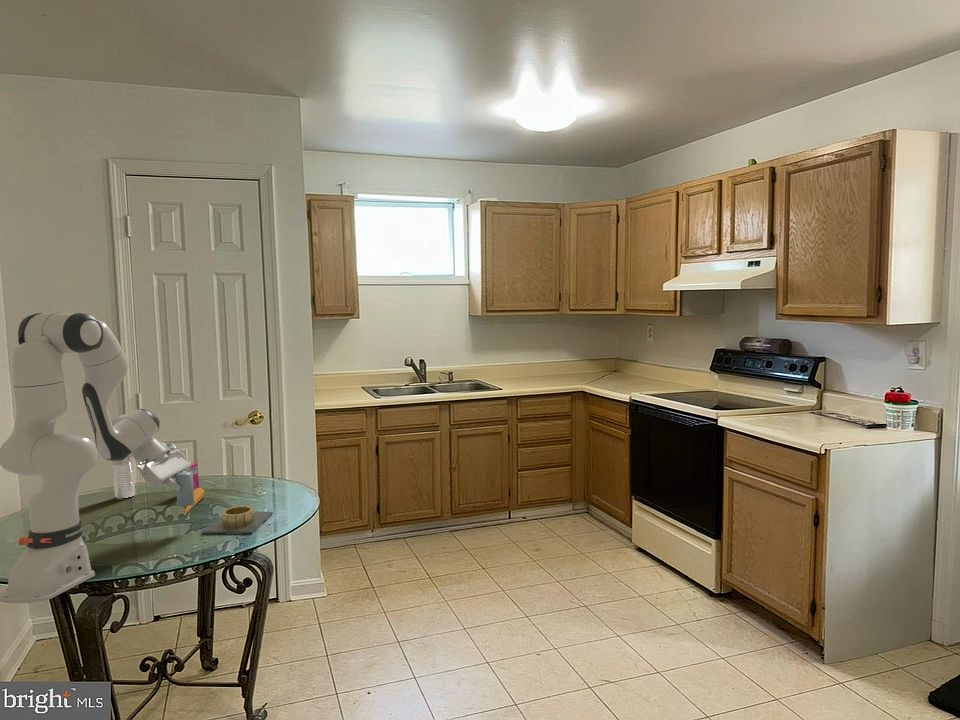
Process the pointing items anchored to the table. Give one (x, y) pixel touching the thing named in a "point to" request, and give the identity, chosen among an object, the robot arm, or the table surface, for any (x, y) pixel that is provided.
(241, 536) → the table surface
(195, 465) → the supplement box
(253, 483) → the table surface
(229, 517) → the brass socket
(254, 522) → the mounting plate
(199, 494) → the carrot
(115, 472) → the water bottle
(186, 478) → the grey capsule peg
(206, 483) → the table surface
